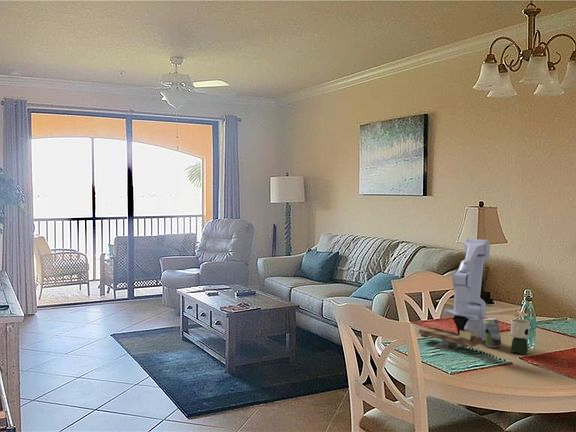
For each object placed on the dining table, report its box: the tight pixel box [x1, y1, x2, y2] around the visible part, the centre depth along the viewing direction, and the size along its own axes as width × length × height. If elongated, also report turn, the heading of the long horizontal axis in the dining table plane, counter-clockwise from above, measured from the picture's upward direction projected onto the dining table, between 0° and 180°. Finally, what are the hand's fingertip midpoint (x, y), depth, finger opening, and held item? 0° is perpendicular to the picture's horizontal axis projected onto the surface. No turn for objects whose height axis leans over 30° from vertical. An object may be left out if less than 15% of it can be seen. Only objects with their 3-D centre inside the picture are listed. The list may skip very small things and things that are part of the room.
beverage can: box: [483, 317, 502, 348], centre depth 235 cm, size 6×7×12 cm
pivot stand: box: [432, 340, 466, 352], centre depth 235 cm, size 8×13×3 cm, turn 132°
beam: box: [418, 326, 484, 348], centre depth 235 cm, size 25×9×4 cm, turn 42°
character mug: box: [510, 318, 531, 355], centre depth 226 cm, size 11×7×13 cm, turn 147°
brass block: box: [459, 328, 477, 341], centre depth 228 cm, size 5×5×4 cm
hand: (460, 334), depth 231 cm, fingers closed
